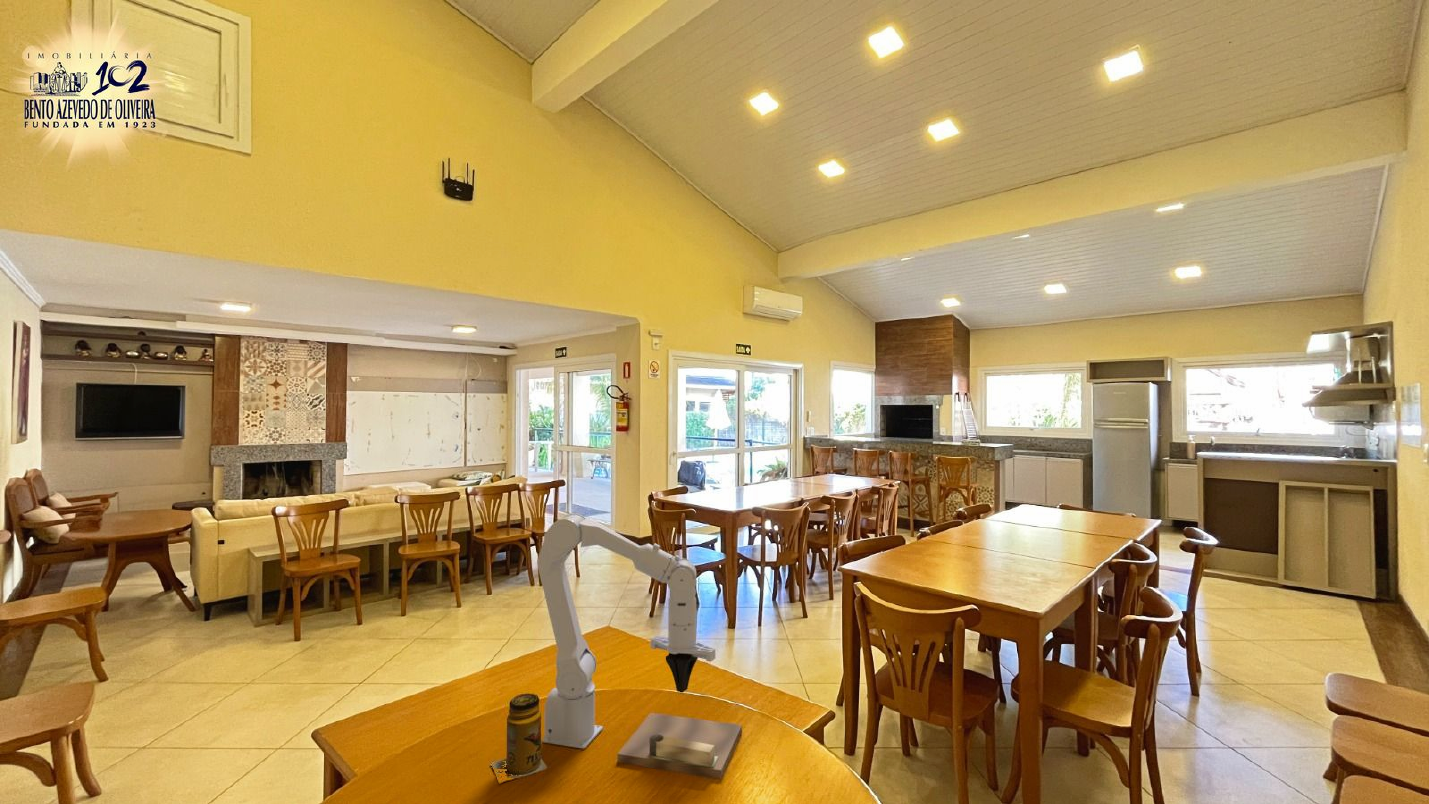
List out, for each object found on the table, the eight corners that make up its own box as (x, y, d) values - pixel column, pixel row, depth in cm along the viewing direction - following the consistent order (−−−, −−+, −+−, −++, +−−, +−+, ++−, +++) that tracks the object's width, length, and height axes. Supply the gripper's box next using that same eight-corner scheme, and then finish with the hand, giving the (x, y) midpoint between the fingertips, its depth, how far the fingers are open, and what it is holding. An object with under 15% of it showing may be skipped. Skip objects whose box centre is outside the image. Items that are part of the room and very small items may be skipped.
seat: (617, 762, 103) (617, 752, 103) (650, 720, 118) (650, 711, 118) (721, 779, 97) (721, 769, 98) (742, 732, 113) (741, 724, 113)
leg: (647, 754, 102) (647, 740, 102) (653, 746, 105) (653, 733, 105) (709, 766, 98) (709, 752, 98) (714, 758, 101) (714, 745, 101)
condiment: (547, 769, 101) (548, 701, 102) (498, 785, 97) (499, 714, 97) (536, 750, 107) (536, 686, 108) (489, 765, 103) (490, 698, 103)
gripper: (641, 621, 114) (641, 689, 113) (702, 633, 107) (702, 706, 106) (661, 612, 120) (661, 676, 119) (720, 623, 113) (720, 692, 112)
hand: (682, 690), depth 113 cm, fingers closed
